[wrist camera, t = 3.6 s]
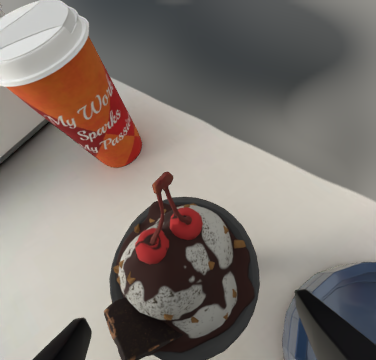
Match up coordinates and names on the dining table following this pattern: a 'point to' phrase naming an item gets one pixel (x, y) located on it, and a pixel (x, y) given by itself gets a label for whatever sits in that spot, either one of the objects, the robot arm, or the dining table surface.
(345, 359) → the robot arm
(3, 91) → the tub
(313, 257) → the dining table surface
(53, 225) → the dining table surface
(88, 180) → the dining table surface
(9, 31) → the paper cup
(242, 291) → the sundae
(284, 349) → the bowl
